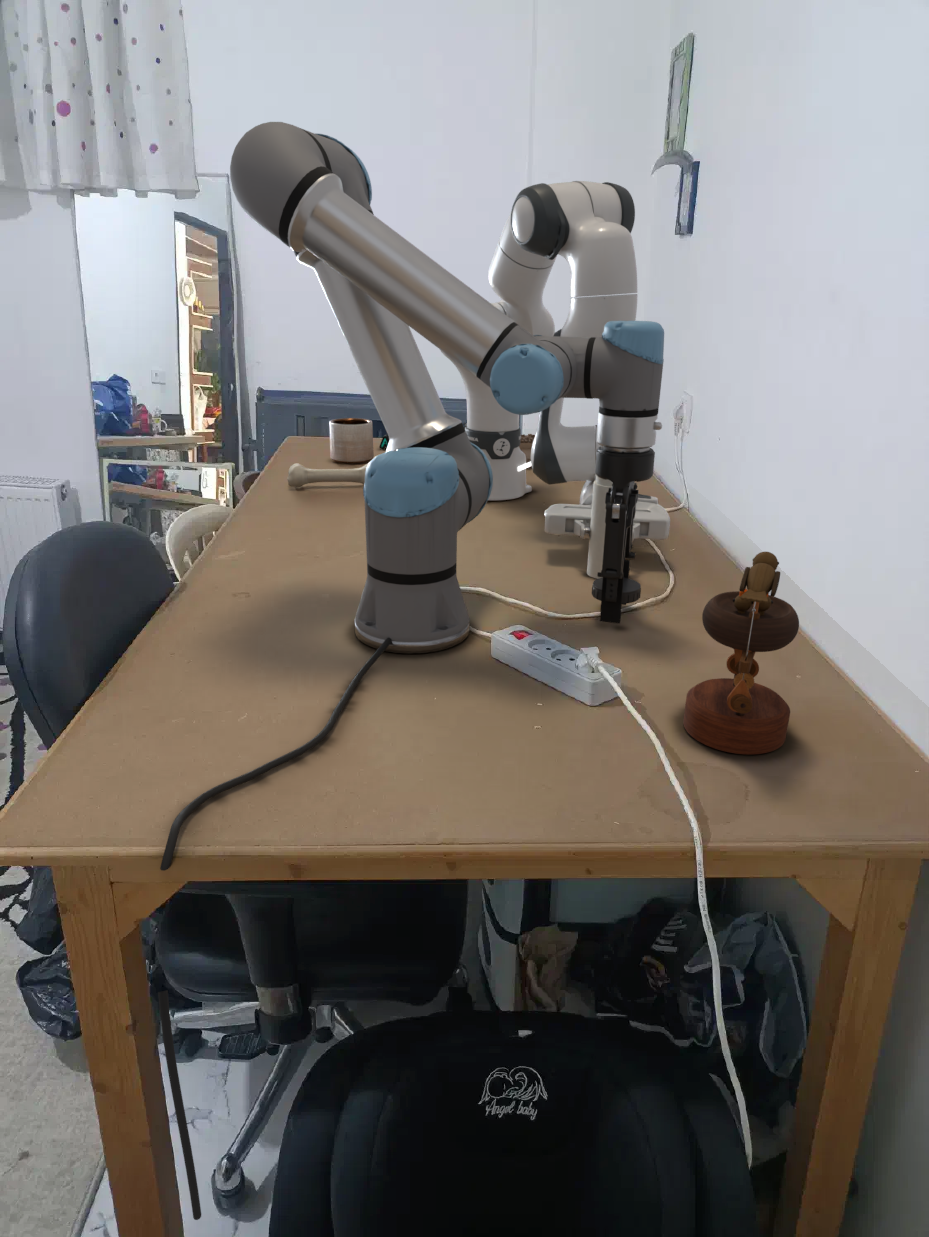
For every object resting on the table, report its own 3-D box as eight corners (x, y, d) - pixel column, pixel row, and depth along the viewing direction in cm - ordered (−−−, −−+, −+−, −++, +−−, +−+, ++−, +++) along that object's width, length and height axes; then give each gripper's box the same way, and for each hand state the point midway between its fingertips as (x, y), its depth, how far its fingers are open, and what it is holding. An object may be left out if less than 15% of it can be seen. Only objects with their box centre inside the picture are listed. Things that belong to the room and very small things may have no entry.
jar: (600, 566, 140) (608, 468, 133) (627, 574, 136) (637, 474, 130) (579, 573, 136) (587, 473, 130) (606, 582, 132) (615, 479, 126)
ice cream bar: (488, 468, 206) (489, 451, 205) (481, 446, 232) (481, 431, 231) (574, 469, 207) (575, 452, 206) (557, 447, 233) (558, 432, 232)
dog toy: (379, 481, 192) (378, 460, 190) (380, 488, 186) (380, 465, 185) (288, 483, 189) (287, 461, 187) (287, 490, 183) (286, 467, 181)
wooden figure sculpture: (807, 766, 83) (825, 574, 75) (692, 766, 84) (698, 577, 77) (772, 695, 97) (784, 526, 89) (674, 696, 98) (678, 530, 91)
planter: (327, 456, 217) (325, 418, 214) (369, 454, 220) (368, 417, 217) (334, 465, 208) (332, 425, 204) (377, 463, 211) (376, 424, 207)
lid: (626, 607, 113) (627, 596, 112) (582, 597, 117) (583, 585, 116) (648, 593, 118) (649, 582, 117) (605, 584, 122) (606, 573, 121)
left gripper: (648, 463, 100) (633, 641, 109) (661, 435, 117) (647, 591, 126) (585, 459, 102) (575, 635, 111) (606, 433, 119) (596, 586, 128)
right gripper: (545, 491, 145) (542, 512, 133) (666, 497, 143) (675, 519, 130) (543, 527, 148) (540, 551, 135) (662, 533, 145) (670, 558, 133)
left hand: (613, 611), depth 118 cm, fingers closed on lid, 6 cm apart
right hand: (607, 535), depth 133 cm, fingers closed on jar, 5 cm apart
